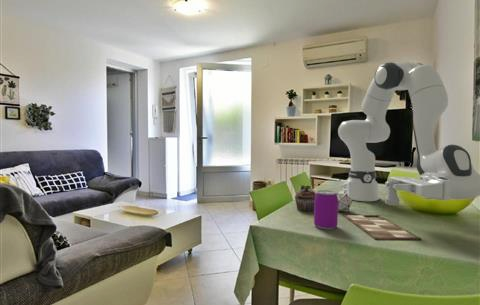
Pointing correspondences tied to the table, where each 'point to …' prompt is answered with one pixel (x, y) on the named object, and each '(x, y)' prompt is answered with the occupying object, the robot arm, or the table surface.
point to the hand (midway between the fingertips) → (389, 185)
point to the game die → (344, 202)
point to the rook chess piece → (392, 194)
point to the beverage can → (326, 209)
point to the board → (381, 228)
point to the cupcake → (305, 199)
